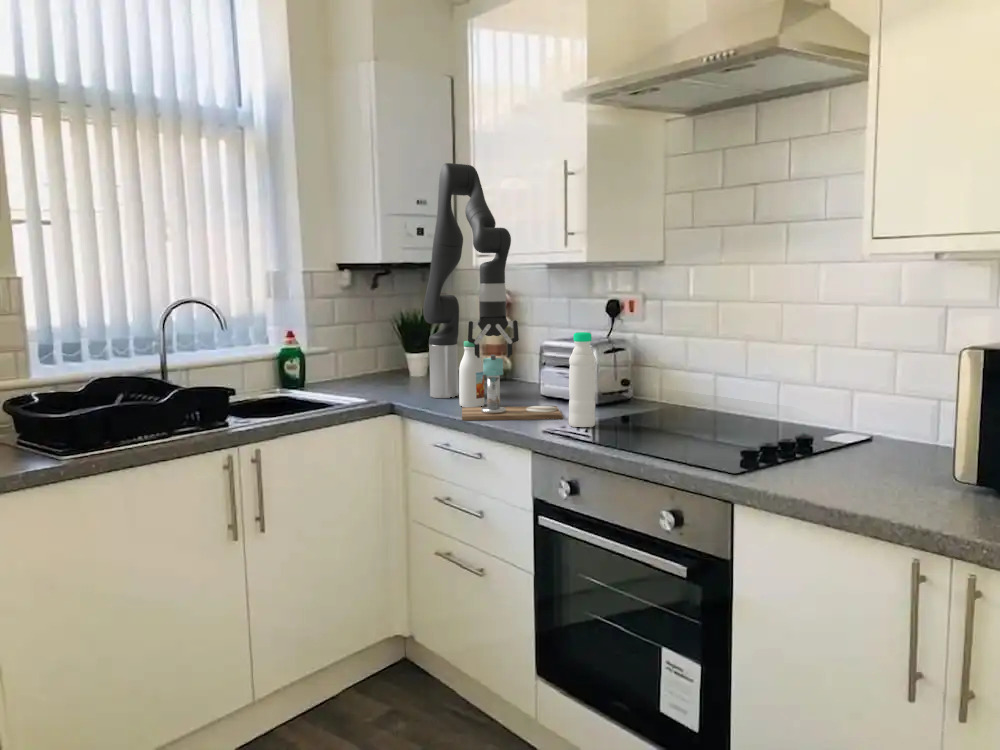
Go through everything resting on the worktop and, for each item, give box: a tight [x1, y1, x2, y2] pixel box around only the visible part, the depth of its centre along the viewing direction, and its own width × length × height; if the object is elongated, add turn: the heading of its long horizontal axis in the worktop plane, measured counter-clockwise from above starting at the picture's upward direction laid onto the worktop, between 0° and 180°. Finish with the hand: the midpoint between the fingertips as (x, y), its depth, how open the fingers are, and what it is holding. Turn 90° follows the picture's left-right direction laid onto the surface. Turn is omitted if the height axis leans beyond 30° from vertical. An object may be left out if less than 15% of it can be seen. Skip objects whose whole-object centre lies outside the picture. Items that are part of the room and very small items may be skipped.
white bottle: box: [568, 331, 597, 428], centre depth 210 cm, size 7×7×25 cm
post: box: [481, 375, 506, 414], centre depth 226 cm, size 7×7×11 cm
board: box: [461, 405, 563, 422], centre depth 228 cm, size 14×28×2 cm, turn 93°
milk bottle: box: [458, 340, 485, 408], centre depth 242 cm, size 8×8×20 cm
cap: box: [482, 354, 504, 377], centre depth 225 cm, size 7×6×5 cm
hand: (493, 357), depth 224 cm, fingers open, 8 cm apart
